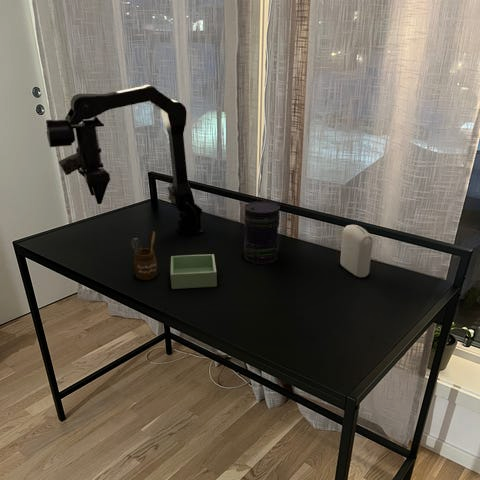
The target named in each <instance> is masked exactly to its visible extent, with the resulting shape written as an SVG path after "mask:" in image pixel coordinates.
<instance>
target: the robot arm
mask: <svg viewBox="0 0 480 480" xmlns="http://www.w3.org/2000/svg"><path fill="white" fill-rule="evenodd" d="M148 102H149V103H150V105H152V106H153V107H155V108H156V109H158V110H159V111H160V115H161V118H162V120H163V124H164V127H165V129H166V132H167V135H168V143H169V144H168V145H169V153H170V154H169V155H170V162H171V170H172V171H171V172H172V184H171V186H167V191H168V200H169V201H170V203H171V204H172V205H173V207H175V208H176V209H177V210H178V211H179V212H178V217H177V229H178V231H179V233H180V234H182V236H184V237H186V236H192V235H193V236H194V235H198V234H203V233H204V231H203V230H202V225H201V223H202V222H201V216H202V213H203V209H202V208H201V207H200V206H199V205H197V204H196V203H195V198H194V194H193V190H192V189H191V186H190V184H189V179H188V178H189V177H188V169H187V159H186V157H187V156H186V148H185V147H186V146H185V136H184V135H185V134H184V133H185V129H186V125H187V114H188V112H187V108H186V106H185V105H184V104H183V103H182V102H180V101H177V100H174V99H171V98H169V97H168V96H167V95H165V94H163V93H162V92H161V91H159V90H158V89H157V87H155V86H153V85H150V84H144V85H141V86H136V87H132V88H127V89H122V90H116V91H111V92H107V93H77V94H75V95H73V96H72V97H71V100H70V109H69V111H68V112H67V114H66V116H65V118H64V119H46V120H45V124H46V136H47V142H48V146H49V148H60V147H71V146H72V145H73V144H74V143H75V142H77V147H76V150H75V151H76V153H74V154H71V155H68V156H67V157H65V158H62V159H60V160H59V161H58V164H59V166H60V168H61V169H62V172H63V173H64V175H65V176H69V175H71V174H72V173H73V172H75V171H77V172H78V173H79V174H80V176H82V177H84V179H85V180H84V181H85V183H86V186H87V188H88V190H89V193H90V195H91V196H94V198H95V201H96V203H97V205H102V203H103V200H104V196H105V194H106V190H107V188H108V185H109V184H110V182H111V174H110V173H109V172H108V171H107V170H106V169H105V168H104V163H103V161H102V156H101V153H102V148H101V147H100V140H99V133H98V127H99V128H100V127H101V128H103V127H105V123H104V122H102V121H101V120H100V119H99V118H98V116H100V115H102V114H104V113H105V112H107V111H110V110H114V109H119V108H124V107H128V106H133V105H138V104H142V103H148Z"/></svg>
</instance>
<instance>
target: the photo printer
mask: <svg viewBox="0 0 480 480" xmlns="http://www.w3.org/2000/svg"><path fill="white" fill-rule="evenodd" d="M373 241H374V240H373V237H372V236H371V234H370V233H369V231H367V230H366V228H364V227H362V226H360V225H357V224H348V225H346V226H345V227H344V228H343V230H342V236H341V248H340V258H339V260H340V261H339V262H340V263H339V264H340V266H341V267H342V268H344V269H345V270H346V271H348V272H349V273H351V275H354V276H355V277H358V278H365V277H367V276H368V275H369V274H370V269H371V268H370V267H371V261H372V260H371V259H372V253H373V252H372V251H373Z"/></svg>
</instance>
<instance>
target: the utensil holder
mask: <svg viewBox="0 0 480 480" xmlns="http://www.w3.org/2000/svg"><path fill="white" fill-rule="evenodd" d="M155 238H156V232H155V231H152V236H151V241H150V242H151V245H150V248H149V247H147V248H146V247H145V248H142V247H143V246H142V244H139V247H140V248H138V243H137V242H136V240H137V241H138V242H141V241H140V240H139V238H137V237H135V238H132V240H131V245H132V248H133V249H134V255H133V256H134V260H133V266H134V275H135V277H136V279H138V280H142V281H149V280H153V279H155V278H156V277H158V263H157V258H156V256H155V252H154V251H155V250H154V249H153V247H154V245H155ZM135 246H136V247H135ZM136 248H137V249H136Z"/></svg>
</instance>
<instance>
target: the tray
mask: <svg viewBox="0 0 480 480" xmlns="http://www.w3.org/2000/svg"><path fill="white" fill-rule="evenodd" d="M169 275H170V285H171V286H170V287H171V290H177V289H193V288H194V289H195V288H213V287H218V279H217V278H218V276H217V275H218V273H217V267H216V260H215V253H211V254H207V253H206V254H190V255H189V254H185V255H171V256H170V274H169Z"/></svg>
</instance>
